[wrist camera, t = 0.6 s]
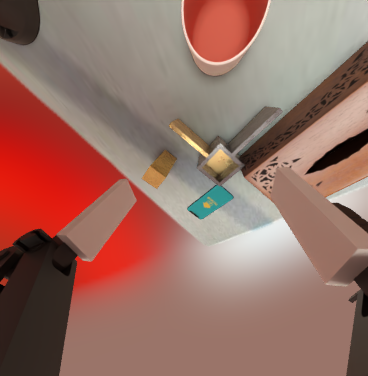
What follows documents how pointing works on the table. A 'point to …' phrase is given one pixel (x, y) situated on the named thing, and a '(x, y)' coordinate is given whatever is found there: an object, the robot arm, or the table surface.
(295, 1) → the table surface
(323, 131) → the tissue box cover
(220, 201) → the smartphone
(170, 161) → the pin
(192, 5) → the cup
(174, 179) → the table surface
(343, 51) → the table surface
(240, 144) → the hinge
